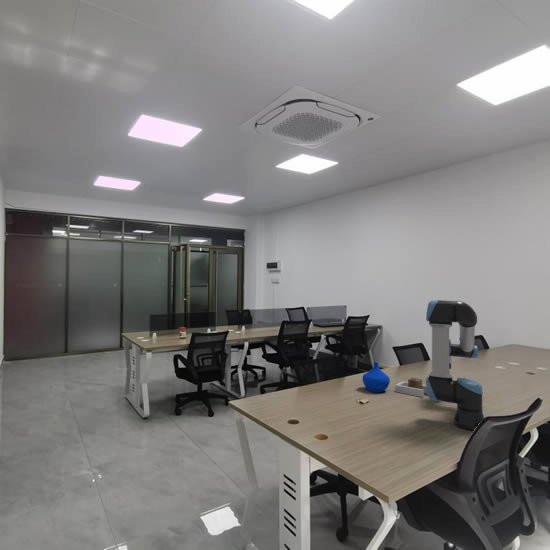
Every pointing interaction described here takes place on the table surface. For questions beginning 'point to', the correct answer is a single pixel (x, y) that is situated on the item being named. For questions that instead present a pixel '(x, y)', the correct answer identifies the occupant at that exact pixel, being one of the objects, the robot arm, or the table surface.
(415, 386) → the tethered block
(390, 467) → the table surface
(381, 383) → the vase
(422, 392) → the lane
